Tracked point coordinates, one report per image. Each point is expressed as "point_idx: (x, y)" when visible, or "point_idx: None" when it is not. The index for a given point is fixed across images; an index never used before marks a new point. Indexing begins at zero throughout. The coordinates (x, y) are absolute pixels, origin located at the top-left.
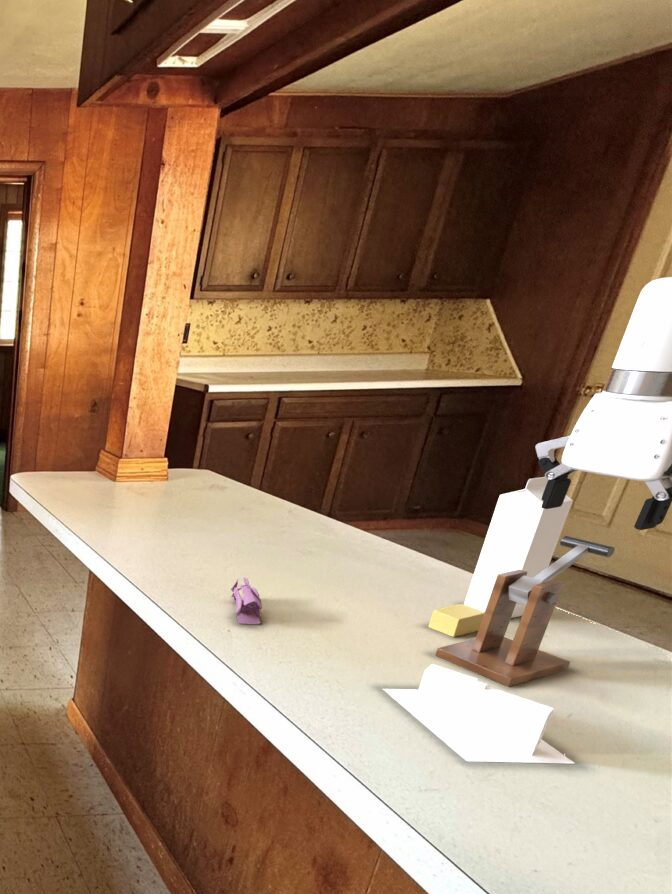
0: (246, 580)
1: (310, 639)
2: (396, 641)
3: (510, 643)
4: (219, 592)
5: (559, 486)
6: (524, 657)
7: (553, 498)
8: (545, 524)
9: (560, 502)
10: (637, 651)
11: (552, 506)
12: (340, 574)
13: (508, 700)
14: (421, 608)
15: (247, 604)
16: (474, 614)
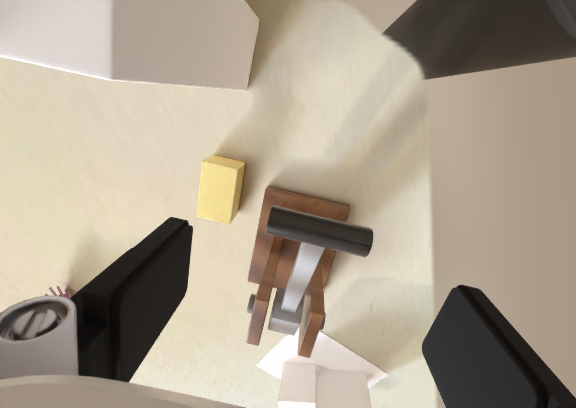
0: None
1: (167, 324)
2: (210, 270)
3: (289, 208)
4: (38, 288)
5: (137, 348)
6: None
7: (168, 312)
8: (166, 42)
9: (183, 246)
10: (401, 57)
11: (185, 277)
12: (25, 96)
13: None
14: (167, 144)
15: None
16: (232, 190)
